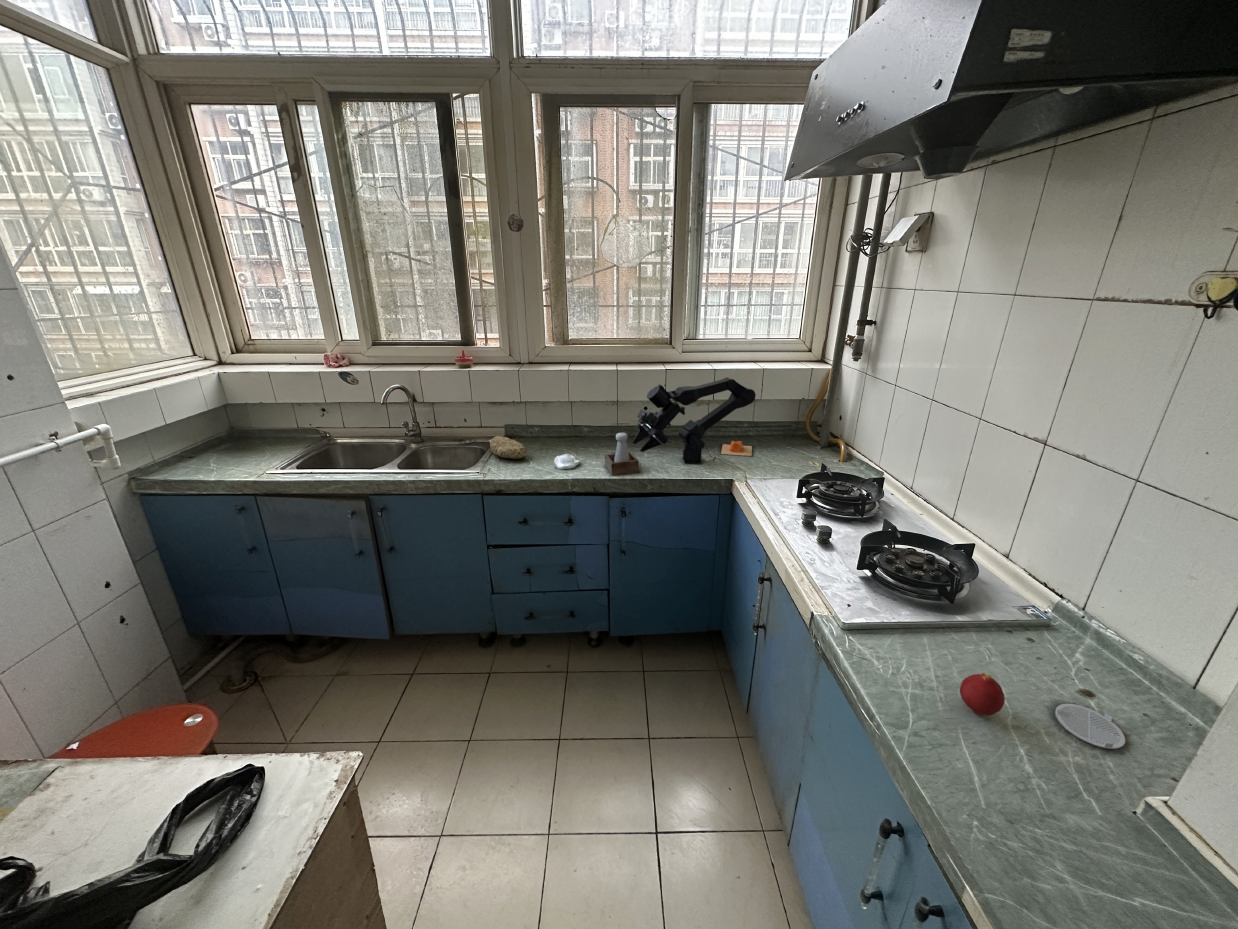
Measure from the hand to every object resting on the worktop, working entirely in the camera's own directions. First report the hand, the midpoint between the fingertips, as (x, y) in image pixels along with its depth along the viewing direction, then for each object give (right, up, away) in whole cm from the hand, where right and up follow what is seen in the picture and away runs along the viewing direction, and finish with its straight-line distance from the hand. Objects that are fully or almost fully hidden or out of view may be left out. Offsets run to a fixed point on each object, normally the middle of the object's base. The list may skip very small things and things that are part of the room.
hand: (637, 447), depth 184 cm
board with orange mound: (+42, -1, +19) cm, 46 cm away
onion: (+52, -47, -102) cm, 124 cm away
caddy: (-6, -8, +1) cm, 10 cm away
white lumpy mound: (-27, -7, +6) cm, 28 cm away
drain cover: (+68, -48, -105) cm, 134 cm away
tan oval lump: (-51, -3, +16) cm, 54 cm away
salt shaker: (-6, -8, +1) cm, 9 cm away
